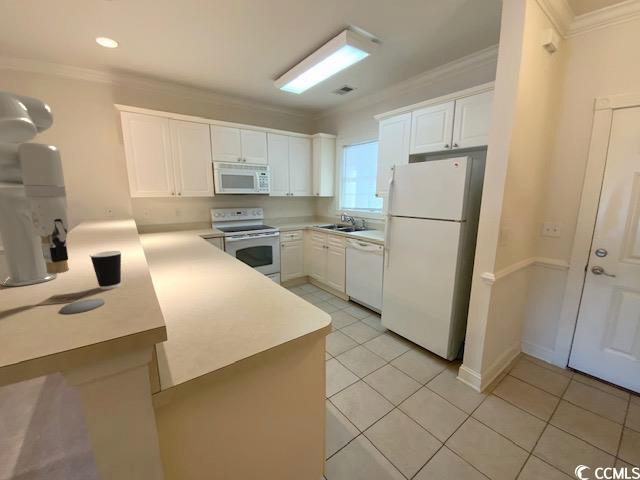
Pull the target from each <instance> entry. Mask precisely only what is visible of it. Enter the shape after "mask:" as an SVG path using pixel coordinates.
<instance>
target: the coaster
mask: <svg viewBox="0 0 640 480" xmlns="http://www.w3.org/2000/svg"><path fill="white" fill-rule="evenodd" d="M104 304H105V300H104V299H102V298H89V299H83V300H78V301H74V302H71V303H68V304H67V305H66V304H65V305H64V306H62V307H61V308H60V312H61V313H62V314H64V315H65V314H69V315H71V314H78V313H83V312H89V311H92V310H95V309H97V308H100V307H102V306H104Z"/></svg>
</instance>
